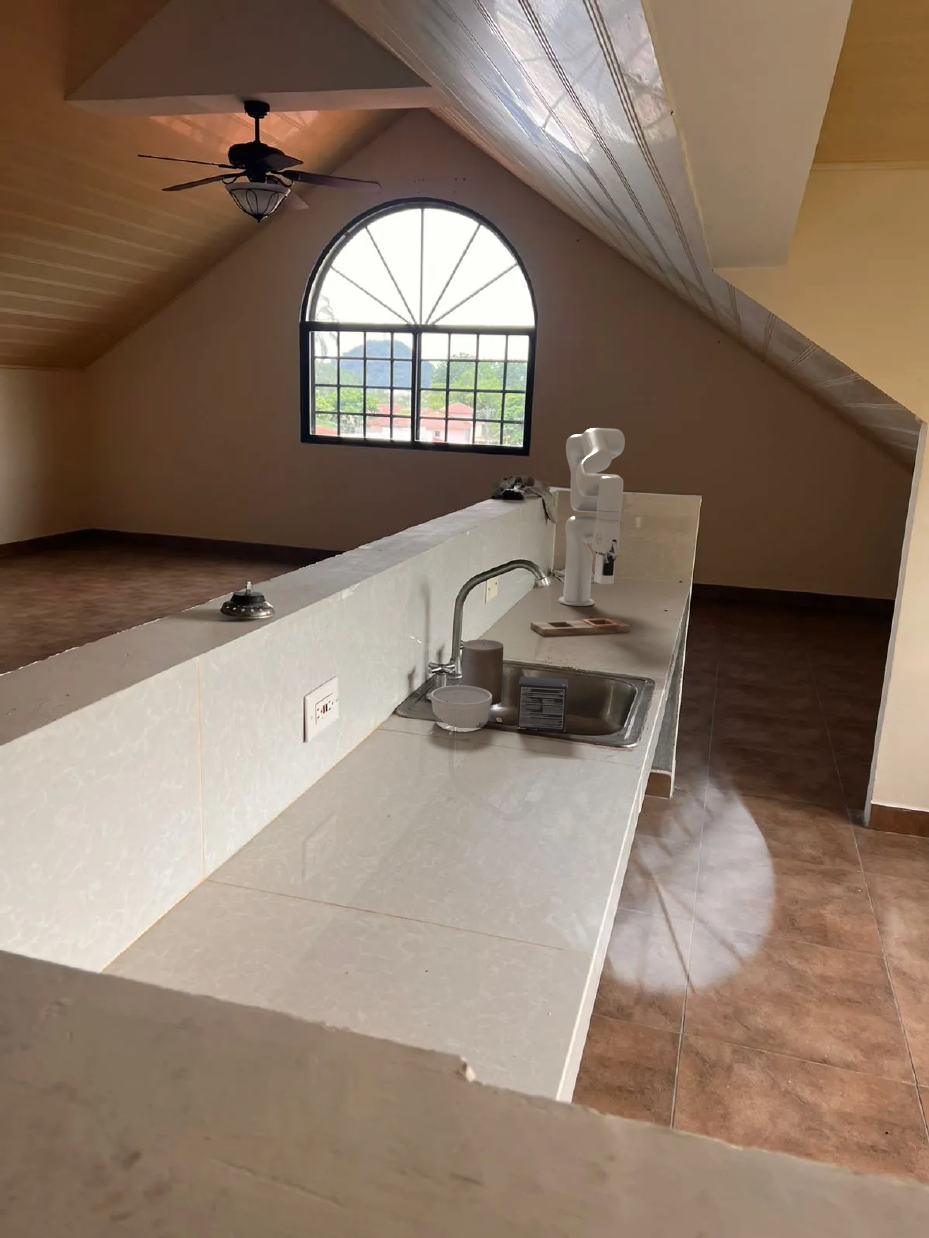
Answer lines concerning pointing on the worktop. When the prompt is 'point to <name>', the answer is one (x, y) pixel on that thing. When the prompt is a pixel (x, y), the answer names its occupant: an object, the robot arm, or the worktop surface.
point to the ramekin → (461, 705)
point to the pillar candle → (483, 666)
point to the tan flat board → (580, 627)
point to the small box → (542, 703)
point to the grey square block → (602, 570)
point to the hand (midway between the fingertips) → (604, 573)
